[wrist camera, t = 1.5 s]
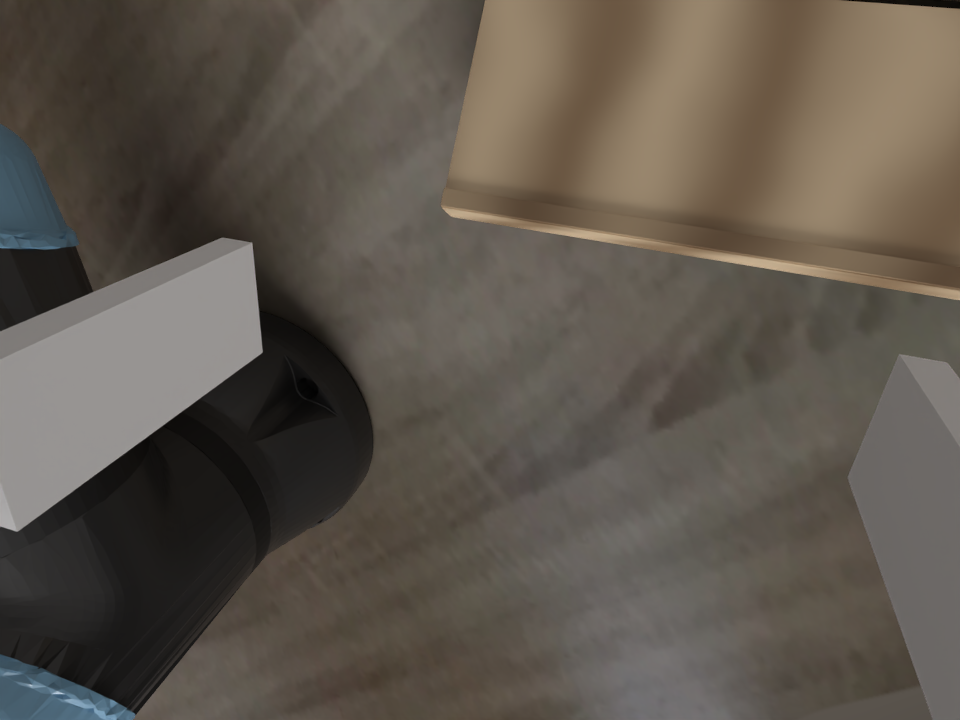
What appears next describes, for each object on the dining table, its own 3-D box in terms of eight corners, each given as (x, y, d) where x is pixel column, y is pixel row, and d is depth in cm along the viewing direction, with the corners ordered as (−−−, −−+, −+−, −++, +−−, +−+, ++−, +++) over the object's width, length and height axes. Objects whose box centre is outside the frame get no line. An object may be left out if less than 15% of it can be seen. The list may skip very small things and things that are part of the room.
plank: (451, 216, 27) (440, 206, 26) (497, -4, 27) (489, -28, 26) (1014, 309, 23) (1044, 303, 21) (1073, 42, 23) (1107, 16, 21)
